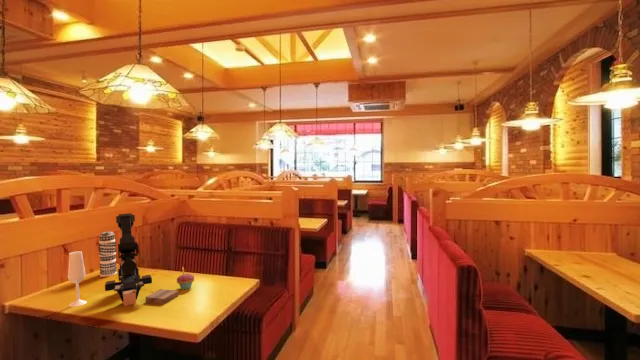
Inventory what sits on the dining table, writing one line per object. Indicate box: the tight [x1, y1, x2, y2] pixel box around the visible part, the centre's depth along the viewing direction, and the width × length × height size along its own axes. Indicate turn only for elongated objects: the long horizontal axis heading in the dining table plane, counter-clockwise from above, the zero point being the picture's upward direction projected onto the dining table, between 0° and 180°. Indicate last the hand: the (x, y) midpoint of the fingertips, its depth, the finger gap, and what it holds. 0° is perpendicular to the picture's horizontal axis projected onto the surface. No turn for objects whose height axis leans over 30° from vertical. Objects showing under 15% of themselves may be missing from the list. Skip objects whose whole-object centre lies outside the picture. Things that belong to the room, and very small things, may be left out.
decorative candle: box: [97, 230, 118, 278], centre depth 197 cm, size 9×9×25 cm
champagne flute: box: [67, 250, 88, 308], centre depth 155 cm, size 7×7×24 cm
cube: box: [122, 290, 137, 307], centre depth 156 cm, size 5×5×5 cm
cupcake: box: [176, 265, 195, 290], centre depth 174 cm, size 9×8×12 cm
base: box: [145, 288, 179, 305], centre depth 160 cm, size 10×10×2 cm
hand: (129, 300), depth 156 cm, fingers closed on cube, 5 cm apart
